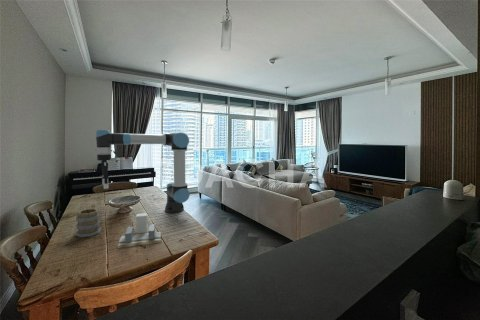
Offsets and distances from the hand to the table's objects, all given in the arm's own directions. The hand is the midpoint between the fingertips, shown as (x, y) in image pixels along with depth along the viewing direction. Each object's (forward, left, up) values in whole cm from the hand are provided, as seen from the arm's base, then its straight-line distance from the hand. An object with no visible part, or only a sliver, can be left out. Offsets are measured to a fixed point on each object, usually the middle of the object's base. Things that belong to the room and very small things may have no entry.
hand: (105, 186), depth 143 cm
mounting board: (-15, +31, -28) cm, 44 cm away
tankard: (+9, -1, -28) cm, 30 cm away
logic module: (-18, +18, -28) cm, 38 cm away
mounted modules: (-15, +31, -26) cm, 43 cm away
